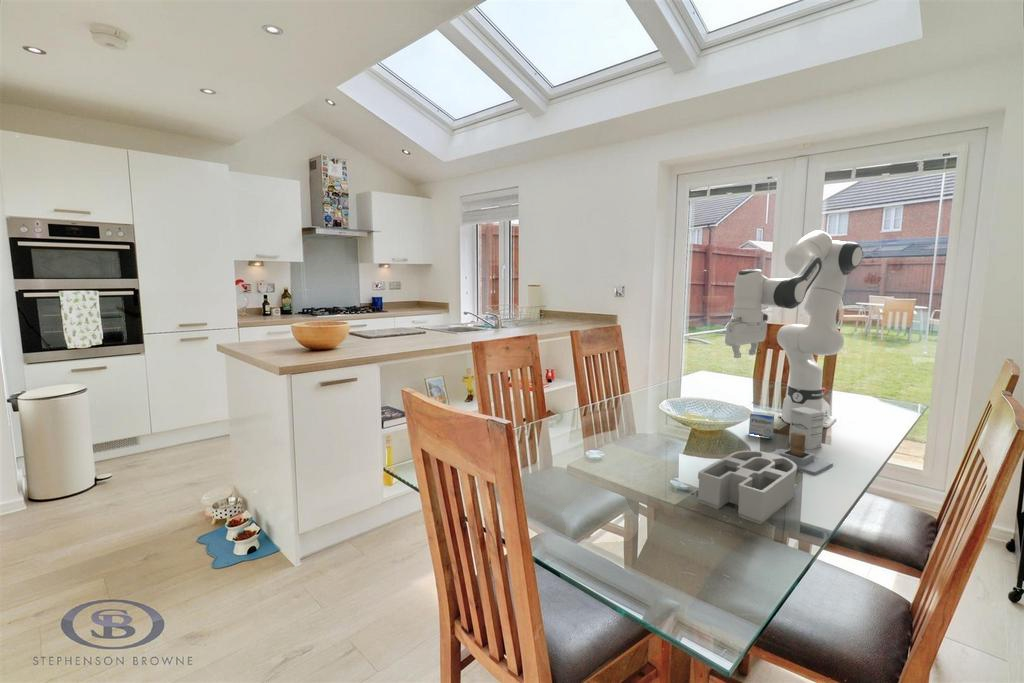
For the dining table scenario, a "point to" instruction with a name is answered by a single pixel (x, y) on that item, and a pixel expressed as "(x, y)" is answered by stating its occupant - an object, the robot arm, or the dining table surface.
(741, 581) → the dining table surface
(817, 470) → the hub plate
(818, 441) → the supplement box
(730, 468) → the grey compartment organizer
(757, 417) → the medicine box
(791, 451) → the knob
